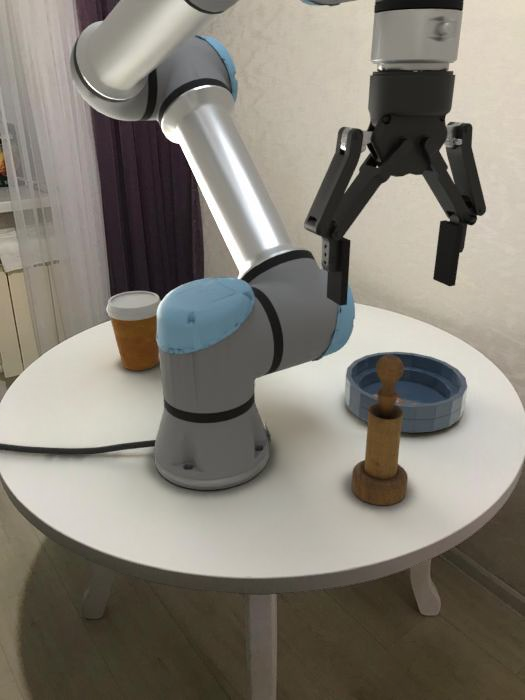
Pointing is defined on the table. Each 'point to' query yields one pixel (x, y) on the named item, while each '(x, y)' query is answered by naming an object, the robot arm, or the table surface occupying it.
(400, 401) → the bead
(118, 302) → the disposable coffee cup
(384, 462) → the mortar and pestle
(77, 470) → the table surface
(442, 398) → the bowl
